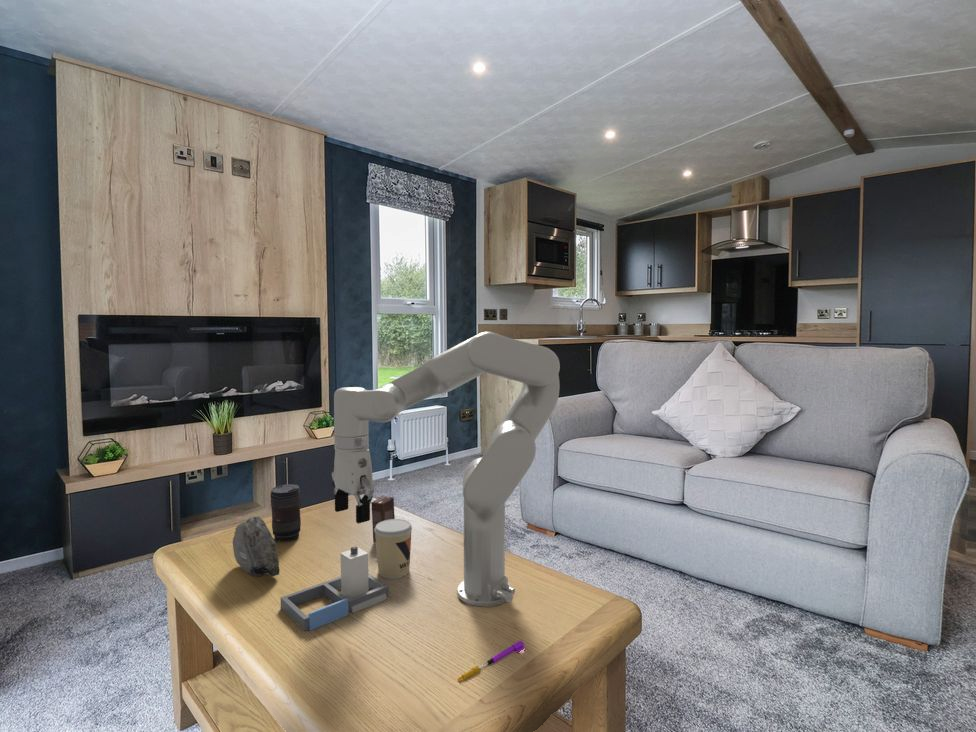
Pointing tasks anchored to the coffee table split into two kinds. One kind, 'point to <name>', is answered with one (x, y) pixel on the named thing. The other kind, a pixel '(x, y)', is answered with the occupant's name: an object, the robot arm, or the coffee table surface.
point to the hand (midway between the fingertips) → (352, 515)
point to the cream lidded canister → (393, 547)
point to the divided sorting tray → (339, 605)
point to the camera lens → (285, 512)
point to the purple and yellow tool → (493, 659)
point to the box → (382, 511)
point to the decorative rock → (255, 548)
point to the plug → (354, 572)
